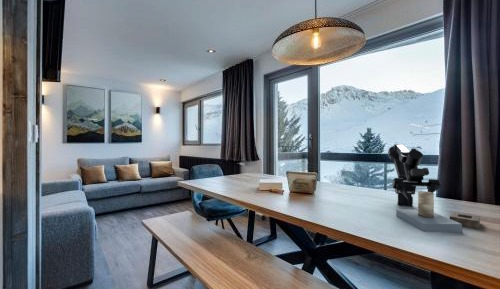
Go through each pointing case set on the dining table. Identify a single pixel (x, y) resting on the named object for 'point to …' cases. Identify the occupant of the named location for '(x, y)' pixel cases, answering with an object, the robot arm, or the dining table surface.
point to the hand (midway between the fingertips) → (419, 199)
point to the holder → (466, 219)
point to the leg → (425, 204)
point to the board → (429, 221)
